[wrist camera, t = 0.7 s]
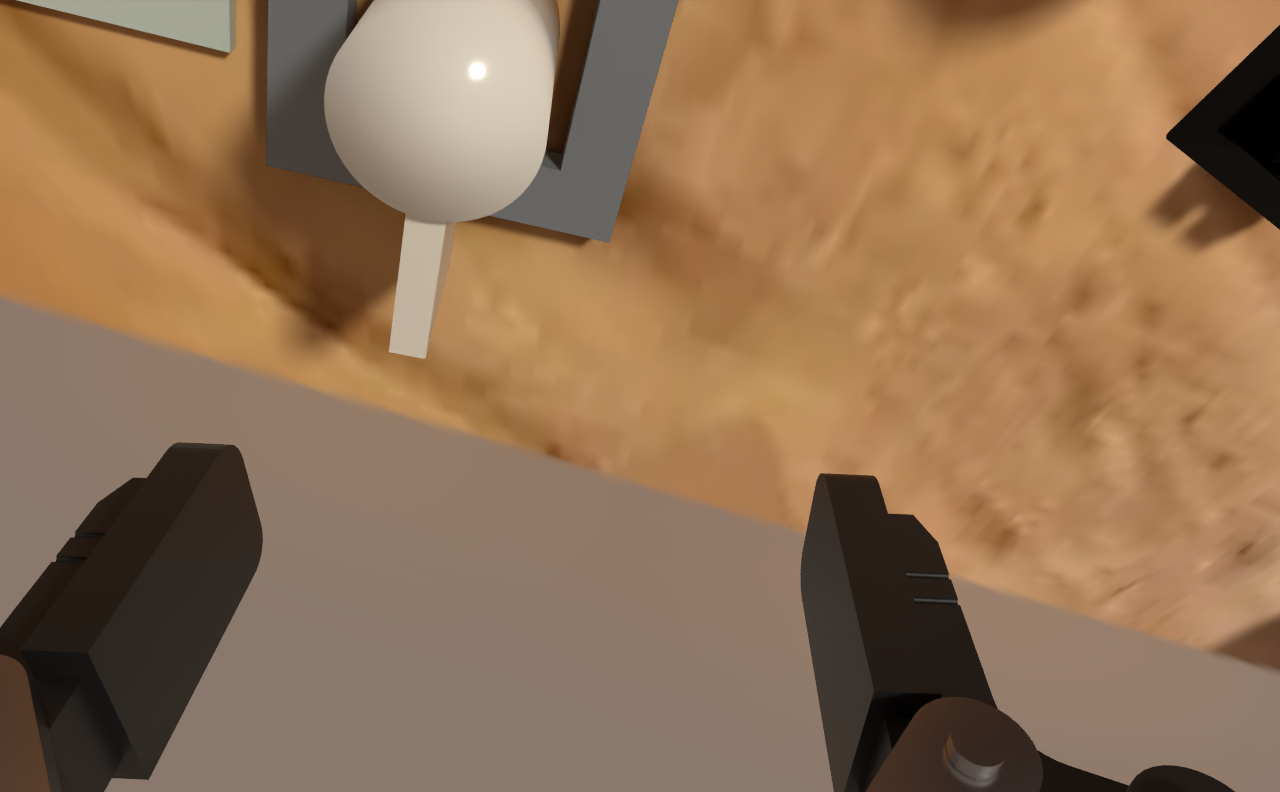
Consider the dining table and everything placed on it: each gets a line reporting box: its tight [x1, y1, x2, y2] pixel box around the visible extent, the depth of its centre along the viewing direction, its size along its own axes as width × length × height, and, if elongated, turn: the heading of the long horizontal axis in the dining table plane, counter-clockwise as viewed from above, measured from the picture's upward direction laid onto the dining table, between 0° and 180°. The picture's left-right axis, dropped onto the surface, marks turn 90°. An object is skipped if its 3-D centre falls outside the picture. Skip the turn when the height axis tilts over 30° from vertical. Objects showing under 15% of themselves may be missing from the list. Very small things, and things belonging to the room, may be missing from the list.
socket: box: [266, 0, 678, 243], centre depth 31 cm, size 13×13×2 cm
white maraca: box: [324, 0, 560, 359], centre depth 29 cm, size 12×6×9 cm, turn 165°
